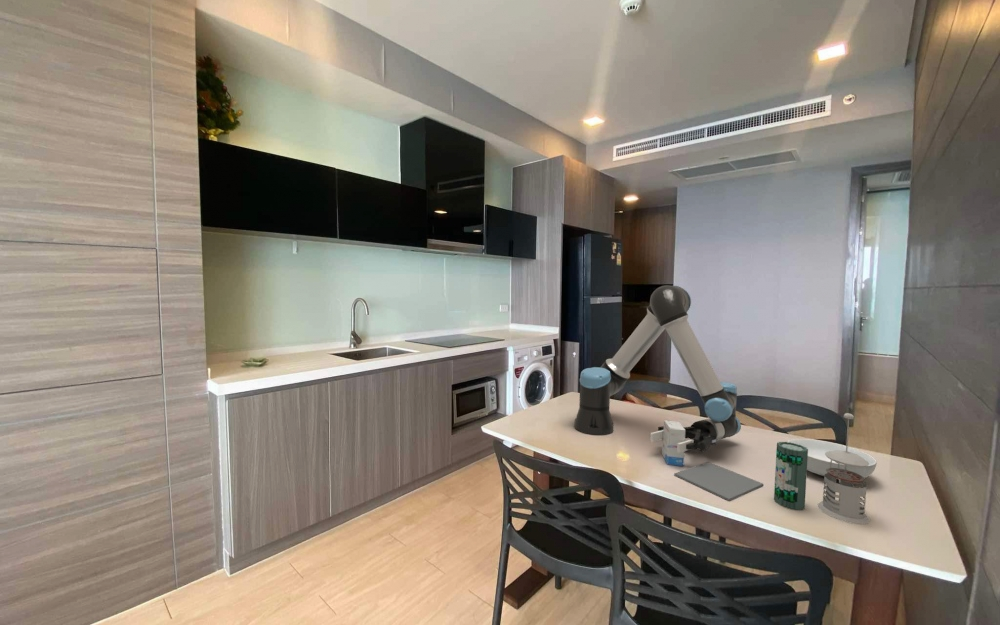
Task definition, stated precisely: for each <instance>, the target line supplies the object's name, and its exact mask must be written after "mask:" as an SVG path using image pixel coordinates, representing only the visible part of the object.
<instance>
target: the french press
mask: <svg viewBox="0 0 1000 625" xmlns="http://www.w3.org/2000/svg"><path fill="white" fill-rule="evenodd" d="M843 418H845V419H847V430H846V445H845V446H846V451H840V450H834V451H829V452H826V453H825V455H826V456H827V457H828V458H829V459H831V461H830V468H828V469H826V470H827V473H826V474H825V475H824V476H823V494H822V501H820V502H819V503H817V508H818V509H819V510H821V512H822V513H824V514H826V515H828V516H830V517H832V518H835V519H837V520H838V521H842V522H846V523H851V524H856V525H857V524H858V525H866V524H869V523H870V522H871V519H870V517H869V516H868V515H867V513H866V502H867V501H866V498H867V484H866V482H865V481H866V478H864V477H863V476H861V475H859V474H857V473H855V472H852V471H848V470H846V465H848V466H853V467H866V466H868V465H869V463H868V461H866V460H865V459H863V458H862V457H860V456H859V455H857V454H854V453H851V452H848V451H847V448H848V447H849V446H848V445H849V429H850V420H855V416H854V414H852V413H849V412H845V413H844V414H843ZM832 460H833V461H835V462H836V463H838V468H834V467H833V468H831V463H832ZM839 464H844V465H845V469H840V468H839ZM836 478H838V479H836ZM837 480H838V482H839V483H837ZM854 485H858V486H854ZM859 486H862V487H859ZM836 493H838V494H836ZM836 498H837V499H836Z"/></svg>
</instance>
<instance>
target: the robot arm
mask: <svg viewBox="0 0 1000 625" xmlns="http://www.w3.org/2000/svg"><path fill="white" fill-rule="evenodd" d="M691 306H692V299H691V295H690V293H689V292H688V291H687V290H686V289H685V288H683V287H681V286H679V285H667V284H666V285H661V286H659V287H657V288H656V289H655V290H654V291H653V292H652V293H651V295H650V300H649V305H648V306H647V307H646V312H647V313H646V315H645V317H644V318H643V319H642V320H641V322H640V323H639V324H638V326H636V328H635V329H634V330H633V332H632V333H631V335H629V337H628V338H627V339H626V341H625V342H624V343H623V344H622V345H621V347H620V348H619V349H618V351H617V352H616V353H615V354H614V355H613V356H612V358H607V359H606V360H605V361H604V362H603V363H602V365H601V366H600V367H597V366H593V367H587V368H584V369H583V370H582V371H581V372H580V375H579V377H580V378H579V407H578V411H577V414H576V417H575V419H574V429H575V430H577V431H579V432H580V433H583V434H589V435H594V436H595V435H597V436H599V435H601V436H604V435H609V434H611V433H613V432H614V430H615V429H614V422H613V419H612V418H613V417H612V416H611V411H610V405H611V404H610V402H611V399H610V397H612V396H614V395H616V394H618V393H620V392H621V391H622V390H623V389H624V388H625V385H626V382H628V380H629V379H630V378H631V371H632V369H633V368H634V367H635V366H636V365H637V363H638V362H639V361H640V360H641V358H642V357H643V356H644V355H645V353H647V351H648V350H649V349H650V348H651V347H652V345H654V343H655V341H657V339H658V338H659V337H660V335H662V333H663V332H664V331H666V332H667V335H668V336H669V338H670V340H671V342H672V344H673V346H674V348H675V350H676V351H677V353H678V355H679V358H680V359H681V362H682V364H683V365H684V367H685V369H686V371H687V373H688V374H689V378H690V379H691V381H692V382H693V384H694V386H695V389H696V391H697V392H698V394H699V395H700V398H701V400H702V401H703V404H704V412H705V415H706V416H707V417H708V418H705V419H702V420H696V421H694V422H693V423H692V424H691V425H690V426H685V427H684V426H682V427H683V428H684V429H685V439H688V440H685V441H684V442H680V443H677V452H678V453H681V452H684V453H685V452H687V451H691V450H698V449H699V451H701V452H705V451H706V450H707V449H709V448H710V447H711V446H716V445H717V441H720V440H721V439H726V438H730V437H733V436H735V435H737V434H738V433H739V432H740V431H741V429H742V423H741V422H740V420H739V418H738V416H737V414H736V412H737V397H738V393H737V392H738V389H737V388H738V387H737V385H736V384H734V383H731V382H726V381H725V382H724V381H720V379H719V378H718V376H717V373H716V372H715V370H714V368H713V366H712V363H711V362H710V361H709V358H708V357H707V355H706V353H705V351H704V349H703V347H702V346H701V343H700V342H699V340H698V338H697V335H695V332H694V330H693V328H692V327H691V325H690V323H689V321H688V318H689V314H688V312H689V310H690V308H691ZM663 432H664V425H663V426H658V428H657V431H653V432H650V440H649V441H650V442H651V443H654V442H657V441H662V440H663Z"/></svg>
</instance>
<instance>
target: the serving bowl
mask: <svg viewBox="0 0 1000 625" xmlns="http://www.w3.org/2000/svg"><path fill="white" fill-rule="evenodd" d="M786 442H791V443H794V444H798V445H802V446H804V447H806V448H807V449H808V458H807V472H808V471H809V472H811V473H812V474H813V473H814V474H816V475H818V476H822V477H824V475H825V474H826V473H827V470H826V469H828V468H830V461H831V459H829V458H828V457H827V456H826V455H825V453H826V452H829V451H834V450H840V451H846V445H844V444H841V443H836V442H831V441H826V440H819V439H812V438H792V439H788V440H786ZM847 451H848V452H851V453H854V454H857V455H859V456H860V457H862V458H863V459H865V460H866V461H868V463H869V465H868V466H866V467H853V466H848V465H846V470H848V471H852V472H855V473H857V474H859V475H861V476H863V477H864V478H865V479H866V478H868V477H869V476H871V475H873V473H874V472H875V470H876V467H877V464H878V463H877V462H878V461H877V460H876V457H874V456H872V455H870V454H869V453H866V452H865V451H862V450H861V449H858V448H853V447H851V446H848V448H847ZM833 467H834V468H838V463H836V462H835V461H833V460H832V463H831V468H833ZM839 468H840V469H845V465H844V464H839ZM836 480H839V479H838V478H836Z"/></svg>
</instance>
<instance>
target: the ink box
mask: <svg viewBox="0 0 1000 625" xmlns="http://www.w3.org/2000/svg"><path fill="white" fill-rule="evenodd" d="M663 426H664V432H663V439H662V447H661V448H662V451H661V454H662V457H663V459H664V460H665V463H666V464H667V465H668V466H669V465H670V466H679V467H684V458H685V451H684V452H681V453H678V452H677V443H680V442H684V441H686V438H685V429H684V428H683V427H684V426H683V425H682V424H681V422H679V421H674V420H667V419H666V420H663Z"/></svg>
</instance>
